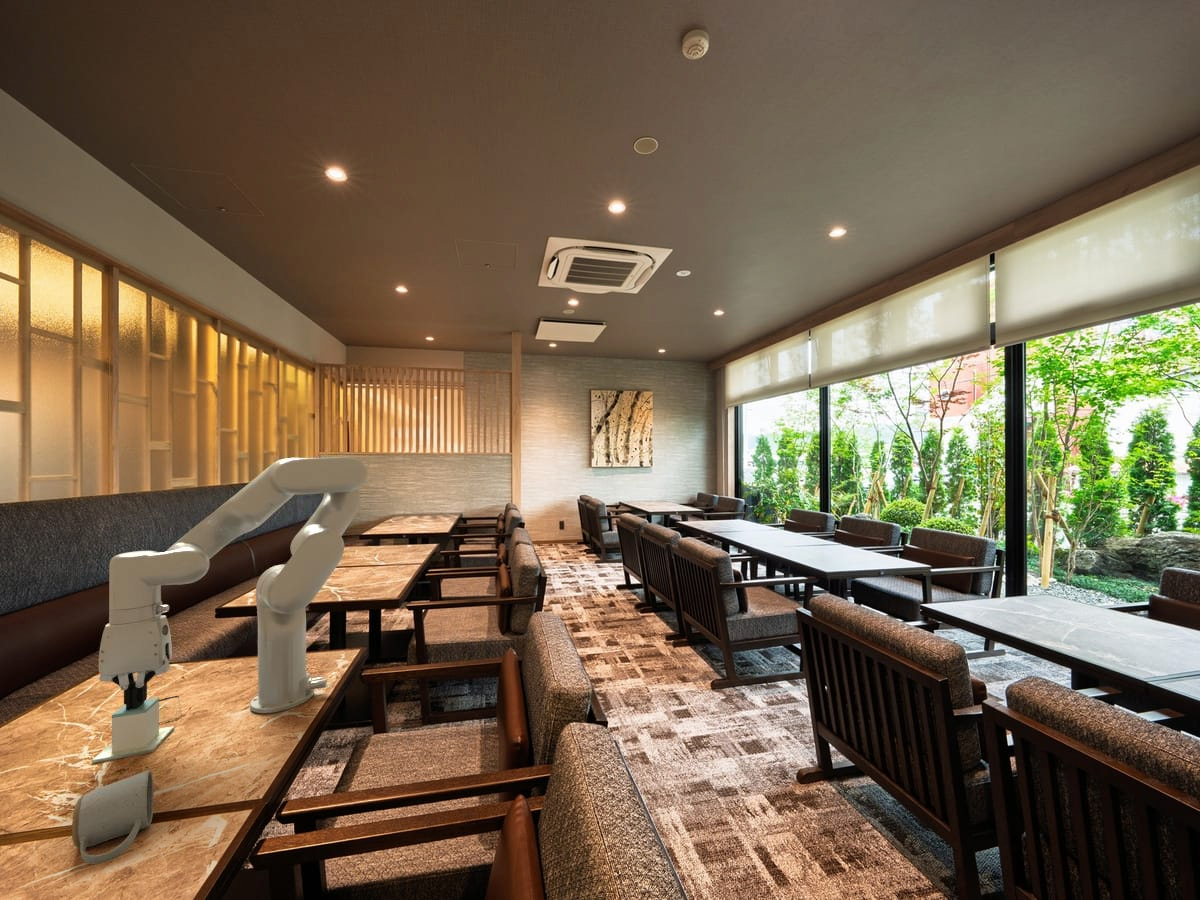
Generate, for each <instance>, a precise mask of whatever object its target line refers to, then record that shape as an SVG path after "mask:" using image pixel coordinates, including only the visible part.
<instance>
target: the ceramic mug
mask: <svg viewBox="0 0 1200 900" xmlns="http://www.w3.org/2000/svg"><path fill="white" fill-rule="evenodd" d="M153 779H154V778H153V774H152V770H145V771H143V772H140V773H138V774H137V773H136V774H135V775H132V776H129V777H126V778H123V779H120V780H118V781H116V782H113V783H110V784H107V785H103V786H101V787H98V788H96V789H94V790H90V791H89V792H87V793H85V794H83V795H82V796H80V798H78V800H77V801H76V803H75V805H74V809H73V812H72V813H73V814H72V821H71V838H72V843H73V845H74V847H75V848H77V849H79V851H80V856H81V859H82V860H83V862H85V863H86V864H89V865H90V864H91V865H98V864H102V863H106V862H107V861H108V862H109V861H110V860H113V859H114V858H117V857H118V856H119V855H121V854H122V853H124V852H125V851H126V850H127V849H128V848H129V847H130V846H131V845H132V844H133V842H134V840H135V839H136V837H137V834H138V832H139V831H141V830H144V829H146V828H148V827H150V825H151V823H152V819H153V814H154V797H155V795H154V794H155V793H154V781H153ZM125 835H127V837H126V838H125V839H123V841H122V842H121V843H119V844H118V845H117V846H116V847H115V848H113V849H112V850H110V851H108V852H104V853H101V854H91V853H90V854H88V853H87V851H86V849H87V847H88V848H89V847H93V846H96V845H99V844H102V843H105V842H107V841H109V840H113V839H117V838H119V837H122V836H125Z"/></svg>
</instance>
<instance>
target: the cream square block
mask: <svg viewBox="0 0 1200 900" xmlns="http://www.w3.org/2000/svg"><path fill="white" fill-rule="evenodd" d="M173 729H174V730H175V726H173V725H172V726H167V727H161V728H160V727H159V733H158V734H157V735H156V736H155V737H154V738H153V739H152V740H151V741H150V742H149V743H148V744H147V745H146V746H143V747H138V748H132V749H127V750H121V751H116V752H112V742H111V743H110V744H108V745H107V746H106V747H105V748H104V749H103V750H102V751H100V753H98V755H97V756H95V757H94V758H93V759H91V763H92V764H97V763H101V762H106V761H113V760H118V759H123V758H129V757H134V756H140V755H146V754H150V753H154V751H155V750H156V749H157V748H158V747H159V746H160V745H161V744H162V743H163V742H164V741H165V740H166V738H168V737H169V736H170V735H171V733H173V731H174V730H173ZM172 730H173V731H172Z"/></svg>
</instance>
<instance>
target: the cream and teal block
mask: <svg viewBox="0 0 1200 900" xmlns="http://www.w3.org/2000/svg"><path fill="white" fill-rule="evenodd" d="M159 699H160V698H159V697H156V698H155V697H154V698H149V699H146V700H145V701H144V703H143V704H142V705H140V706H139V707H138V708H137V709H133V708H132V709H130V710H126V704H123V706H121V707H120V708H118V709H117V710H116V711H115V712H114V713H112V714H111V743H112V752H116V751H121V750H127V749H132V748H138V747H143V746H146V745H147V744H148V743H149V742H150V741H151V740H152V739H153V738H154V737H155V736H156V735H157V734H158V733H159V729H160V725H159V723H160V701H159Z"/></svg>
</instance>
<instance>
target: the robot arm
mask: <svg viewBox="0 0 1200 900" xmlns="http://www.w3.org/2000/svg"><path fill="white" fill-rule="evenodd" d="M367 478H368V469H367V467H366V465H365V464H364V462H363V461H362V460H360V459H358V458H356V457H353V456H340V457H339V456H337V457H336V456H335V457H334V456H333V457H290V458H282V459H279V460H277V461H275V462H273V463H272V464H271V465H269V466H268V467H267V468H265V469H264V470H263V471H262V472H260V474H258V475H257V476H256V477H254V479H252V480H251V481H250V482H249V483H247V484H246V485H245V486H244V487H243V488H242V489H240V490H239V491H238V492H236V494H234V495H233V496H232V497H230V498H228V500H227V501H225V502H224V503H223V504H222V505H220V506H219V507H217V509H216V510H214V511H213V512H212V513H211V514H210V515H207V517H205V518H204V519H202V521H200V522H199V523H198V524H196V525H194V527H192V528H191V529H190V530H189V531H187V533H185V534H184V535H183V536H181V538H179V539H178V540H177V541H175V543H173V544H172V545H171V546H170V547H169V548H168V549H167V550H165V551H164V552H163V551H162V552H158V551H156V550H138V551H136V550H135V551H129V552H124V553H119V554H117V555H114V556H113V557H111V559H110V560H109V575H108V576H109V584H108V585H109V588H108V589H109V595H108V596H109V599H108V600H109V602H108V603H109V605H108V606H109V607H108V608H109V609H108V611H109V612H108V613H109V617H108V622H109V623H107V624H105V627H104V629H103V632H102V636H101V640H100V645H99V653H98V654H99V655H98V674H99V679H98V680H99V681H100V682H102V683H103V682H104V683H105V682H106V683H108V682H109V683H111V682H112V683H114V684H116V685H117V686H119V688H120V689H121V690H122V691H123V705H125V704H126V710H130V709H132V708H133V709H137V708H138V707H139V706H140V705H142V704H143V703H144V701H145V700H148V699H147V697H148V682H150V681H151V680H152V679H153V678H154V677H157V676H159V675H163V674H165V673H167V672H168V671H169V670H170V669H171V666H170V663H169V661H171V660H172V657H173V646H172V638H171V630H170V624H169V621H168V618H167V615H164V614H163V613H166V612H170V611H169V610H170V604H163V601H162V595H161V594H162V593H161V592H162V591H161V590H162V589H161V588H162V586H172V585H176V586H177V585H185V584H186V585H187V584H192V583H195V582H197V581H199V580H201V579H202V578H203V577H204V576H205V575H206V574H207V573H208V571H209V570H210V569H209V568H210V565H211V564H210V559H212V558H213V557H214V556H216V554H218V553H219V552H220V551H221V550H222V549H223V548H225V547H226V546H227V545H229V544H230V543H231V542H232V541H234V540H235V539H238V538H239V537H240V536H242V535H244V534H246V533H249V532H251V531H254V530H255V529H256V528H259V527H260V526H261V525H262V524H264V523H265V522H266V521H267V520H268V519H269V518H270V517H271V516H272V515H273V514H274V513H276V511H278V510H279V509H280V508H281V507H283V505H284V504H286V503H287V502H288V501H289V500H291V498H293V497H294V496H295V495H316V494H323V498H322V500H321V502H320V504H319V505H318V506H317V508H316V510H315V511H314V513H312V515H311V516H310V517H309V519H308V520H307V521H306V522H305V524H304V525H303V526H302V528H300V530H299V531H298V532H297V534H295V536H294V537H293V539H292V541H291V543H290V554H291V557H290V559H288V561H287V562H286V563H285V564H278V565H273V566H272V567H269V568H268V569H266V570H265V571H264V572H263V573H262V574H261V575H260V576H259V578H258V580H257V583H256V586H255V600H256V601H255V602H256V609H257V611H256V613H257V695H256V696H255V697H253V698H252V699H251V701H250V702H249V708H250V710H251V712H254V713H258V714H272V713H277V712H283V711H286V710H289V709H292V708H295V707H298V706H299V705H302V704H304V703H305V702H307V701H308V700H310V699H311V698H312V697H313V695H314V694H315V691H314V690H316V689H317V690H319V689H323V688H324V689H325V688H327V686H328V679H327V678H324V677H323V676H320V677H314V678H313V677H310V676H311V675H310V672H307V617H306V616H307V614H306V607H307V606H309V604H311V602H312V601H313V600H314V599H315V598H316V596H317V595H318V594H319V592H320V591H321V590H322V588H323V587H324V585H325V584H326V583H327V581H328V580H329V578H330V576H332V574H333V572H334V571H335V570H336V569H337V566H338V565H339V564H340V562H341V561H342V558H343V555H344V552H345V542H344V539H343V537H342V536H343V535H344V534H345V531H347V529H348V527H349V526H350V524H351V522H352V521H353V519H354V518H355V516H356V515H357V512H358V510H359V506H360V498H361V497H360V488H361V487H362V486H363V485H364V484H365V483H366V481H367ZM162 614H163V615H162ZM135 674H137V676H135Z"/></svg>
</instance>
